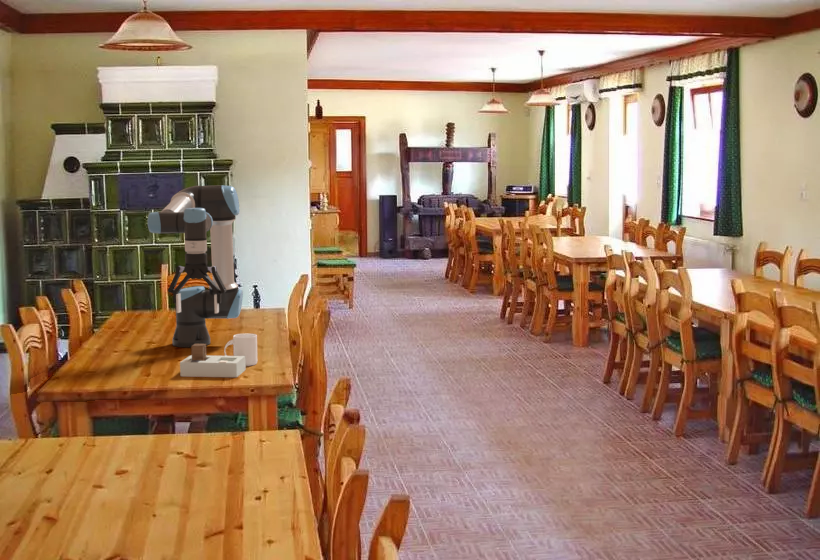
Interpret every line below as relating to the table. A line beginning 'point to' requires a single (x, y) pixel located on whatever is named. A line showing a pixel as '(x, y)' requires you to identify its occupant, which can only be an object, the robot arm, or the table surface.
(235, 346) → the mug
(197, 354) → the plug
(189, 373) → the socket board
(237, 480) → the table surface
